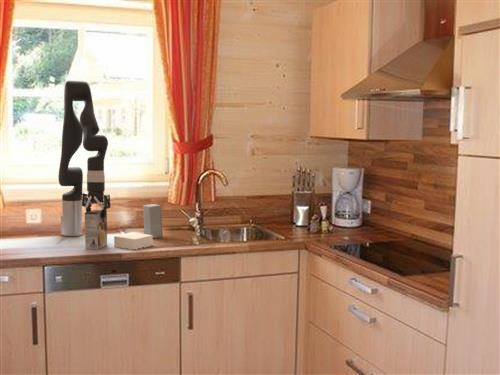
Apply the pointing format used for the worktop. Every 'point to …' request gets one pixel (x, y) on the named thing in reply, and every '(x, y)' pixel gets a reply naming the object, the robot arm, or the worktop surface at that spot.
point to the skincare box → (153, 220)
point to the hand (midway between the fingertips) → (96, 217)
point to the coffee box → (95, 230)
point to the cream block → (133, 240)
